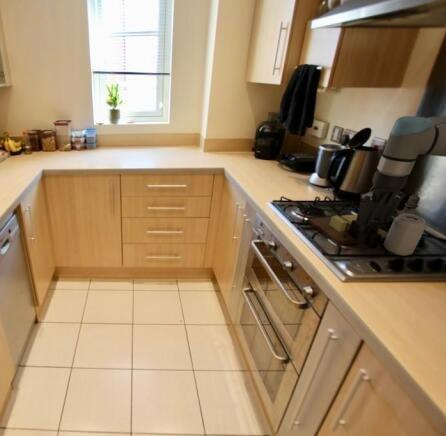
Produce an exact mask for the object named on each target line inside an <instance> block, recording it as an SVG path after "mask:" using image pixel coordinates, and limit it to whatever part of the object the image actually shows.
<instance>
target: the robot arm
mask: <svg viewBox="0 0 446 436" xmlns="http://www.w3.org/2000/svg"><path fill="white" fill-rule="evenodd" d="M419 155H422V156H434V157H444V158H446V114H444V115H441V116H431V117H430V116H429V117H424V116H415V115H414V116H411V115H406V116H401V117H398V118H397V119H396V120H395V121H394V124H393V126H392V129H391V130H390V132H389V136H388V139H387V141H386V143H385V147H384V149H383V152H382V155H381V157H380V160H379V162H378V165H377V170H376V171H375V172H374V174H373V177H372V180H371V182H372V187H371V188H370V189H369V192H367V193H363V192H362V193H360V194H359V199H360V200H359V201H360V202H359V207H358V211H357V214H358V215H357V219H356V220H357V221H358V222H360V223H361V226H360V228H359V234H358V236H357V240H358V241H360V242H361V243H360V244H362V245H364V244H365V242H366V240H367V237H368V235H369V232H370V230H371V229H373V230H374V231H376V232H378V230H379V228H380V227H384V226H386V223H389V222H390V220H391V218H392V217H393V215H394V214H395V212H396V210H397V208H398V207H399V205H400V204H401V202H402V201H403V200H404V198H405V197H406V196H407V193H404V192H402V191H401V189H403V188H405V185H406V183H407V181H408V180H409V179H408V178H409V176H408V175H410V174H411V173H412V170H413V167H414V165H415V163H416V160H417V158H418V156H419ZM372 220H373V221H372ZM380 229H381V228H380Z"/></svg>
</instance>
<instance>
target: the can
mask: <svg viewBox="0 0 446 436" xmlns="http://www.w3.org/2000/svg"><path fill="white" fill-rule="evenodd" d="M416 215H417V214H416ZM416 215H413V214H406V213H405V214H400V215H399V216H398V217H397V216H396V217H394V218H393V221H392V223H391V225H390V228H389V230H388V231H387V233H388V234H387V237H386V239H385V241H383V244H382V245H383V247H384V248H385V251H388V252H389V253H391V254H393V255H397V256H403V257H404V256H409V255H410V256H411V255H413V254H414V252H415V250H416V248H417V246H418V244H419V242H420V240H421V238H422V236H423V234H424V232H425V230H426V228H427V225H426V220H425V219H424V218H423V217H421V216H419V215H417V216H416Z"/></svg>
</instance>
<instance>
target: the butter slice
mask: <svg viewBox="0 0 446 436" xmlns="http://www.w3.org/2000/svg"><path fill="white" fill-rule="evenodd" d="M338 216H339V215H338ZM338 216H335V215H332V216H331V217H332V218H331V221H330V224H329V225H330V226H332V227H333V228H335V229H336V230H337V231H339V232H341V231H345V228H346V226H347V223H348V222H346V221H344V220H343V219H341V218H340V217H338Z"/></svg>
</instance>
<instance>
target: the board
mask: <svg viewBox="0 0 446 436" xmlns="http://www.w3.org/2000/svg"><path fill="white" fill-rule="evenodd" d="M338 216H339V217H341V216H342V215H338ZM331 218H332V216H326V217H312V218H311V217H310V218H307V220H306V222H307V224H308V225H310V226H312V227H313V228H314V229H315V230H317V231H318V232H319V233H321V234H322V235H324V237H326V238H328V239H329V240H330V241H331V242H333V244H336V245H337V246H338V245H339V246H342V245H352V244H362V243H361V242H360V241H358V240H357V239H356V238H354V237H353V236H351V235H350V234H348V232H347V231H346V230H345V231H341V232H339V231H337V230H336V229H335V228H333V227H332V226H330V225H329V224H330V221H331ZM378 233H379V234H381V235H382V236H381V239H380V241H379V242H384V241H385V239H386V237H387V234H388V231H385V230H383V229H382V228H379V230H378ZM344 234H347V235H348V236H349V237H348V238H344V237H343V235H344ZM337 241H338V242H337ZM341 241H349V242H341Z"/></svg>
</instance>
